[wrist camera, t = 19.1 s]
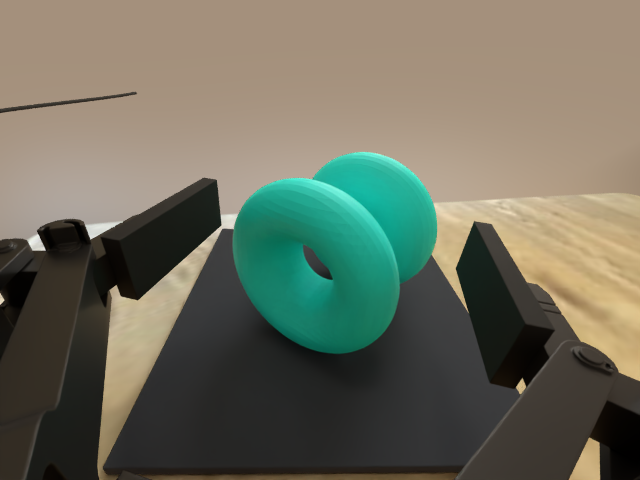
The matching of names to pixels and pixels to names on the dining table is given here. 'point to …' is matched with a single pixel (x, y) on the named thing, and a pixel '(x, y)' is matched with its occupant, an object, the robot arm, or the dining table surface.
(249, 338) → the placemat
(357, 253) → the donuts
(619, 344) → the dining table surface
